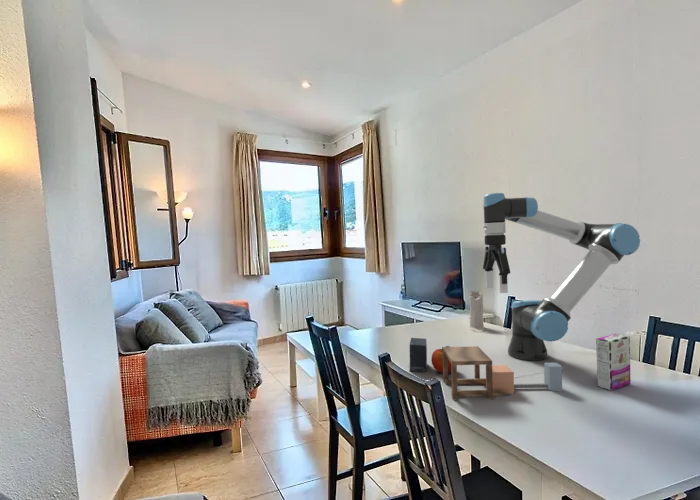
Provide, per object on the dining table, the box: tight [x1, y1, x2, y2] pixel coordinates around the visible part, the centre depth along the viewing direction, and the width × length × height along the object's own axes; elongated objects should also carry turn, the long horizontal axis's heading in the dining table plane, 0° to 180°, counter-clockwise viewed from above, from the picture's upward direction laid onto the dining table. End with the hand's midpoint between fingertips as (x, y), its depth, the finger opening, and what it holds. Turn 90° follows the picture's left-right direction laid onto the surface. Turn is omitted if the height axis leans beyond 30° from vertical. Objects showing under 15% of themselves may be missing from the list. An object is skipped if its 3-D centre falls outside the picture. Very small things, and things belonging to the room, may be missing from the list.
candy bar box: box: [595, 333, 632, 392], centre depth 136 cm, size 11×5×16 cm, turn 117°
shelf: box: [442, 345, 510, 400], centre depth 136 cm, size 18×16×12 cm
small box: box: [409, 337, 428, 373], centre depth 160 cm, size 11×6×10 cm, turn 168°
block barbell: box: [485, 362, 563, 394], centre depth 136 cm, size 23×7×8 cm, turn 88°
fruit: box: [430, 345, 452, 374], centre depth 155 cm, size 10×10×10 cm
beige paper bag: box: [468, 290, 486, 333], centre depth 218 cm, size 7×14×20 cm, turn 170°
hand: (496, 290), depth 156 cm, fingers open, 13 cm apart
